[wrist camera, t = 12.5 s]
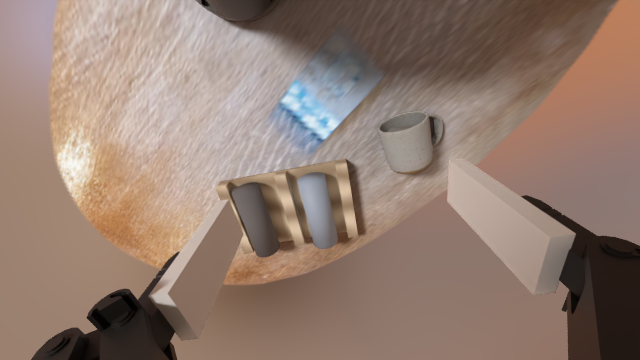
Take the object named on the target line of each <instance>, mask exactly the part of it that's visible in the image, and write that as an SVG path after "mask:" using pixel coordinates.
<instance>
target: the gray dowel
mask: <svg viewBox="0 0 640 360" xmlns="http://www.w3.org/2000/svg"><path fill="white" fill-rule="evenodd" d="M297 182H298V186H299V190H300V194H301V197H302V201H303V205H304V209H305V212H306V216H307V220H308V224H309V228H310V231H311V235H312V239H313V243H314V245H315V246H316V247H317V248H320V249H327V248H330V247H332V246H334V245H335V244H336V243H337V241H338V236H337V231H336V226H335V221H334V216H333V211H332V206H331V201H330V196H329V192H328V187H327V182H326V177H325V174H324V173H321V172H312V173H308V174H305V175H303V176H301V177H300V178H299V179H298V181H297Z"/></svg>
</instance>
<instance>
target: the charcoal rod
mask: <svg viewBox="0 0 640 360" xmlns="http://www.w3.org/2000/svg"><path fill="white" fill-rule="evenodd" d="M232 196H233V198H234V201H235V203H236V206H237V208H238V211H239V213H240V215H241V218H242V220H243V223H244V225H245V228H246V230H247V233H248V235H249V237H250V240H251V242H252V245H253V247H254V250H255V252H256V254H257V256H259V257H268V256H271V255H273V254H274V253H276V252H277V251H278V249H279V247H280V243H279V240H278V237H277V234H276V231H275V229H274V226H273V223H272V220H271V217H270V214H269V211H268V208H267V205H266V202H265V200H264V197H263V194H262V191H261V188H260V185H259V183H257V182H250V183H245V184H242V185H240V186H238V187H236V188H235V189H234V190H233V191H232Z"/></svg>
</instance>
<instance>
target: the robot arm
mask: <svg viewBox="0 0 640 360" xmlns="http://www.w3.org/2000/svg"><path fill="white" fill-rule="evenodd" d="M196 1H197V2H198V3H199V4H200V5H202V6H203V7H204V8H206V9H207V10H208V11H210V12H212V13H214V14H215V15H218V16H220V17H222V18H224V19H227V20H230V21H235V22H250V21H254V20H257V19H260V18H262V17H264V16H265V15H267V14H268V13H270V12H271V11H272V10H273V9H274V8H275V7H276V6H277V5H278V3H279V2H280V1H281V0H196ZM447 202H448V203H449V204H450V205H451V206H452V207H453V208H454V209H455V210H456V211H457V212H458V213H459V214H460V216H461V217H462V218H463V219H464V220H465V221H466V222H467V223H468V224H469V226H470V227H471V228H472V229H473V230H474V231H475V232H476V233H477V234H478V235H479V236H480V238H481V239H482V240H483V241H484V242H485V243H486V244H487V245H488V246H489V247H490V248H491V250H492V251H493V252H494V253H495V254H496V255H497V256H498V257H499V258H500V259H501V260H502V261H503V262H504V263H505V265H506V266H507V267H508V268H509V269H510V270H511V271H512V272H513V274H514V275H515V276H516V277H517V278H518V279H519V280H520V281H521V282H522V283H523V284H524V285H525V287H526V288H527V289H528V290H529V291H530V292H531V293H532V294H533V295H540V294H548V293H555V292H556V290H557V287H558V284H559V281H561V282H562V283H563V284H564V285H565V286H566V287H567V288H568V289H569V292H568V295H567V297H566V300H565V303H564V305H563V308H562V311H565V312H566V310H567V319H568V320H567V321H568V360H640V246H639V245H636V244H634V243H632V242H629V241H627V240H623V239H619V238H616V237H609V236H596V235H595V234H593V233H592V232H590V231H589V230H587V229H585V228H584V227H582V226H580V225H579V224H577V223H576V222H574V221H573V220H571V219H569V218H568V217H566V216H565V215H562V214H561V213H560V212H558V211H557V210H555V209H552V207H550V206H549V205H547V204H546V203H544V202H542V201H541V200H538V199H535V198H532V197H529V196H527V195H526V196H519V195H518V194H516V193H515V192H513V191H512V190H510V189H509V188H507V187H505V186H504V185H502V184H501V183H500V182H498V181H497V180H495V179H494V178H492V177H491V176H489V175H487V174H486V173H485V172H483V171H481V170H480V169H479V168H477V167H476V166H474V165H473V164H471V163H470V162H468V161H467V160H465V159H464V158H460V159H455V160H449V176H448V197H447ZM243 235H244V234H243V232H242V229H241V227H240V225H239V222H238V220H237V218H236V215H235V213H234V210H233V208H232V206H231V203H230V201H229V199H227V200H221V201H217V202H216V203H215V205H214V206H213V207H212V209H211V210H210V211H209V213H208V214H207V216H206V217H205V218H204V220H203V221H202V223H201V224H200V225H199V227H198V228H197V229H196V231H195V232H194V234H193V235H192V236H191V238H190V239H189V240H188V242H187V243H186V245H185V246H184V247H183V249H182V250H181V252H177V253H176V254H175V255H173V256H172V257H171V258H170V259H169V260H168V261H167V262H166V263H165V265H164V266H163V267H162V269H161V271H159V273H158V274H157V275H156V278H155V279H153V281H152V282H151V283H150V285H149V286H148V287H147V289H146V290H145V291H144V293H143V294H142V295H141V297H140V298H139V299H138V300H137V299H136V297H135V296H134V295H133V294H132V293H131V291H130V290H129V289H121V290H117V291H115V292H113V293H111V294H109V295H107V296H106V297H104V298H103V299H101V300H100V301H99V302H98V303H97V304H96V305H94V307H93V308H92V309H91V310H90V312H89V313H88V316H87V319H88V320H89V321H90V322H91V323H92V324H93V325H94V326H95V327H96V328H97V329H98V330H95V331H93V332H90V333H88V334H84V333H83V332H82V331H81V330H80V329H78V328H70V329H67V330H65V331H63V332H61V333H59V334H57V335H55V336H54V337H52V338H51V339H50V340H48V341H47V342H46V343H45V344H44V345H43V346H42V347H41V348H40V349H39V350H38V351H37V352H36V354H35V355H34V357H33V358H32V359H31V360H177V357H176V353H175V349H174V346H173V345H172V343H171V342H170V340H171V338H172V337H173V335H174V333H176V334H177V335H178V337H179V338H180V339H181V340H182V341H183V340H190V339H198V338H199V337H200V334H201V332H202V330H203V328H204V325H205V323H206V321H207V318H208V316H209V314H210V311H211V309H212V307H213V304H214V302H215V300H216V297H217V295H218V293H219V290H220V288H221V286H222V284H223V281H224V279H225V277H226V274H227V272H228V270H229V267H230V265H231V263H232V260H233V258H234V256H235V253H236V251H237V249H238V246H239V244H240V242H241V239H242V237H243Z"/></svg>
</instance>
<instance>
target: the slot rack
mask: <svg viewBox="0 0 640 360" xmlns="http://www.w3.org/2000/svg"><path fill="white" fill-rule="evenodd" d="M312 172H321V173H324V174H325V177H326V182H327V187H328V192H329V196H330V201H331V206H332V211H333V216H334V221H335V226H336V231H337V233H342V232H347V233H348V238H351V237H357V236H358V232H357V225H356V219H355V213H354V206H353V200H352V194H351V187H350V181H349V174H348V168H347V163H346V159H341V160H336V161H330V162H325V163H319V164H314V165H308V166H303V167H297V168H292V169H286V170H281V171H276V172H270V173H265V174H259V175H254V176H248V177H243V178H237V179H232V180H226V181H221V182H220V183H219V184H218V185H217V187H216V191H217V193H218V195H219V197H220V200H227V199H229V201H230V203H231V206H232V208H233V210H234V213H235V215H236V218H237V220H238V222H239V225H240V227H241V229H242V232H243V234H244V235H243V237H242V239H241V242H240V245H241V248H242V250H243V252H244V254H248V253H254V247H253V245H252V242H251V240H250V237H249V235H248V233H247V230H246V228H245V225H244V223H243V220H242V218H241V215H240V213H239V211H238V208H237V206H236V203H235V201H234V198H233V196H232V191H233V190H234V189H235V188H236V187H238V186H240V185H242V184H245V183H250V182H257V183H259V185H260V188H261V191H262V194H263V197H264V200H265V202H266V205H267V208H268V211H269V214H270V217H271V220H272V223H273V226H274V229H275V231H276V234H277V237H278V240H279V242H285V241H291V240H294V243H295V246H300V245H305V238H310V237H312V235H311V231H310V228H309V224H308V220H307V216H306V212H305V209H304V205H303V201H302V197H301V194H300V190H299V186H298V182H297V181H298V179H299V178H300V177H301V176H303V175H305V174H308V173H312Z"/></svg>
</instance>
